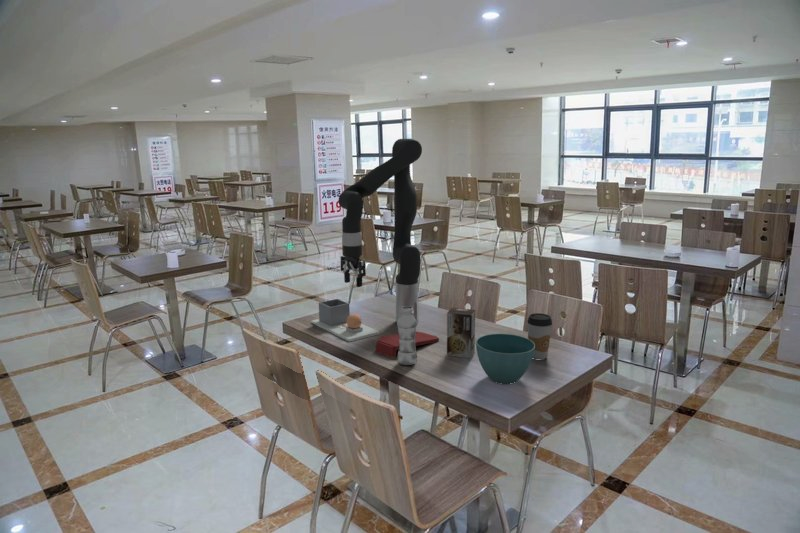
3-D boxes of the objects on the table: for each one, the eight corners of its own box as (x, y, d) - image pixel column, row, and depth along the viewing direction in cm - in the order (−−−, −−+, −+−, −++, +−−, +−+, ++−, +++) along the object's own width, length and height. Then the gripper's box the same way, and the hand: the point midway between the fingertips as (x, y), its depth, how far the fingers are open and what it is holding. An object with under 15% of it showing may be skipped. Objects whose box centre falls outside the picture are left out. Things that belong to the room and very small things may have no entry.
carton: (415, 342, 220) (371, 350, 201) (417, 330, 219) (372, 337, 201) (439, 350, 212) (396, 359, 193) (441, 337, 211) (397, 345, 193)
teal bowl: (490, 363, 189) (491, 329, 186) (541, 376, 179) (543, 340, 176) (465, 382, 174) (466, 345, 171) (519, 396, 164) (521, 358, 161)
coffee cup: (536, 363, 189) (538, 321, 185) (520, 355, 196) (522, 314, 193) (555, 359, 192) (557, 317, 189) (538, 351, 200) (541, 311, 196)
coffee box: (475, 352, 199) (476, 309, 195) (471, 358, 193) (472, 314, 189) (450, 349, 202) (451, 307, 198) (445, 355, 196) (446, 312, 192)
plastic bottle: (417, 367, 186) (417, 310, 181) (397, 367, 186) (396, 310, 181) (417, 360, 192) (417, 305, 188) (397, 360, 192) (397, 304, 188)
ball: (363, 326, 222) (362, 312, 220) (360, 331, 216) (360, 316, 214) (348, 325, 222) (348, 311, 221) (345, 330, 216) (344, 316, 215)
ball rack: (311, 322, 232) (310, 302, 230) (339, 316, 241) (339, 296, 239) (349, 341, 210) (348, 319, 208) (379, 334, 218) (378, 312, 216)
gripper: (370, 245, 208) (371, 286, 212) (350, 240, 219) (351, 279, 223) (354, 247, 204) (355, 289, 207) (333, 242, 215) (335, 282, 218)
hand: (353, 284), depth 215 cm, fingers open, 8 cm apart
